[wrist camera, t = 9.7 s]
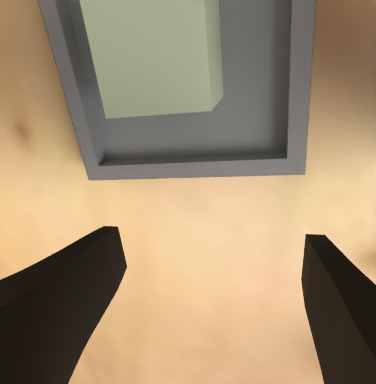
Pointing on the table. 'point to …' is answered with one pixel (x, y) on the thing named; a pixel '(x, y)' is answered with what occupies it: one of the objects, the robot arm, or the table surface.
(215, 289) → the table surface
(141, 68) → the cube
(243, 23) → the tray
